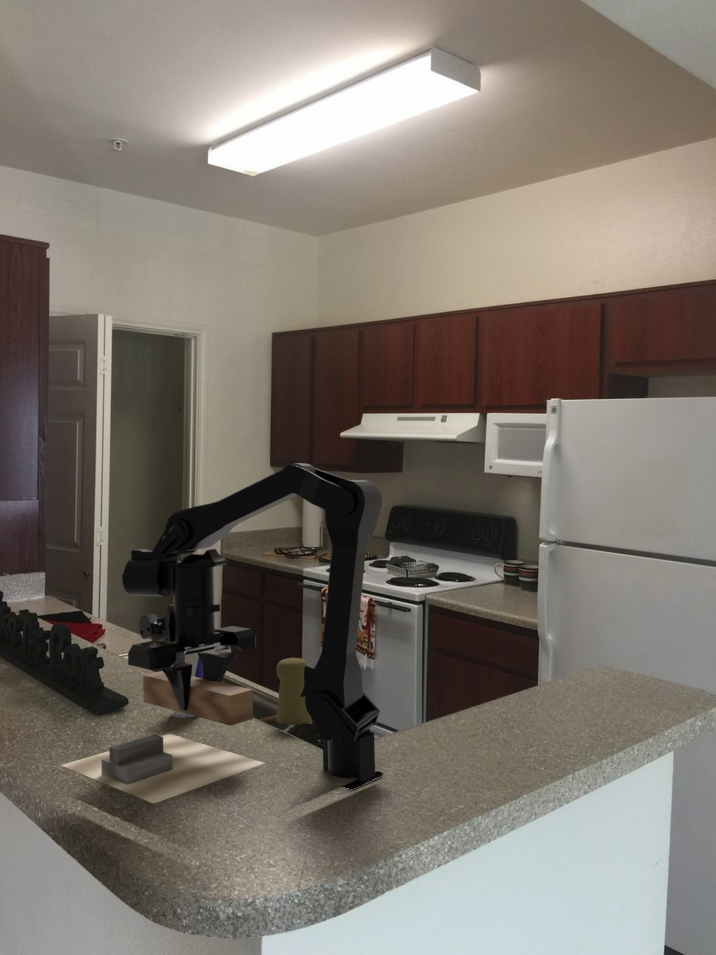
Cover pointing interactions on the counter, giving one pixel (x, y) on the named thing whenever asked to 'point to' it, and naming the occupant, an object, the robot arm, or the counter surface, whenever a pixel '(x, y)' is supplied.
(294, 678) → the cork
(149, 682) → the walnut bar
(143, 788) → the flat beige square board
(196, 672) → the energy drink
